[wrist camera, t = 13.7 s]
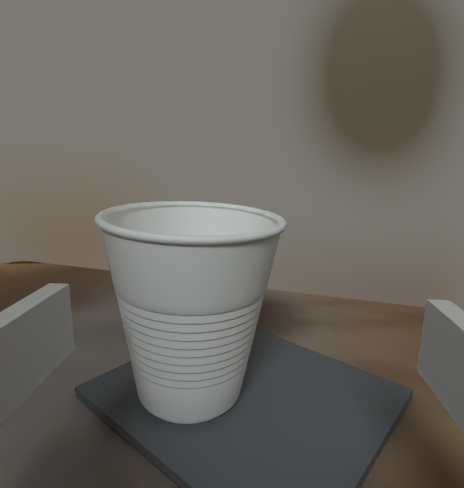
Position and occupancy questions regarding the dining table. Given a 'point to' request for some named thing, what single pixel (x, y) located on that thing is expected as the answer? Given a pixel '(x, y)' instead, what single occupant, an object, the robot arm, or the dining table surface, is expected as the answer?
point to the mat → (265, 423)
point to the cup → (189, 298)
